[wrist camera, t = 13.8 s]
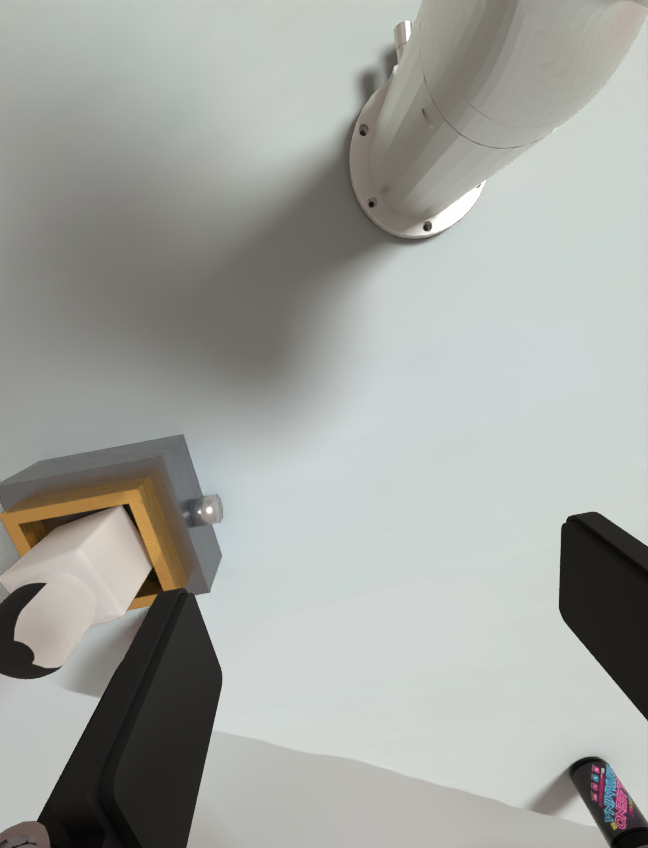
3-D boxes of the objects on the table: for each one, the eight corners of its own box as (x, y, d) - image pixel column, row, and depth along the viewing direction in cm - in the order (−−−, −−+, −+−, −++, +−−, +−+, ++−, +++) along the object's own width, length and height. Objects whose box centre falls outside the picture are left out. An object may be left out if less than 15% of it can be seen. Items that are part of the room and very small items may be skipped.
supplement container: (615, 761, 60) (677, 850, 50) (589, 785, 61) (644, 877, 51) (585, 750, 58) (643, 839, 49) (559, 775, 60) (610, 866, 50)
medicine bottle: (94, 582, 37) (-1, 705, 25) (55, 526, 34) (-69, 632, 23) (158, 560, 36) (91, 674, 25) (122, 501, 34) (31, 598, 23)
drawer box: (38, 461, 39) (-32, 500, 31) (204, 430, 39) (178, 461, 31) (93, 579, 44) (45, 640, 36) (241, 552, 44) (226, 606, 36)
